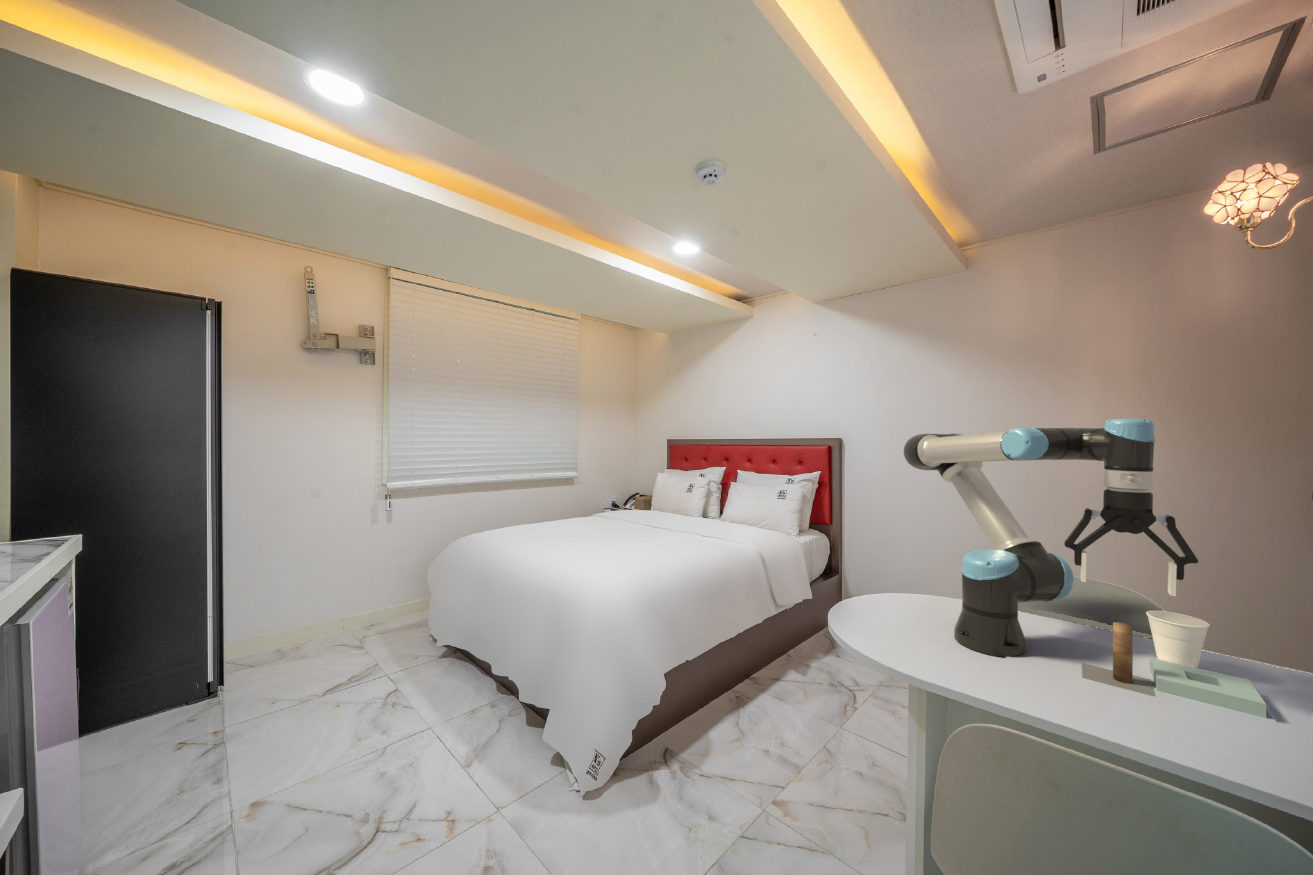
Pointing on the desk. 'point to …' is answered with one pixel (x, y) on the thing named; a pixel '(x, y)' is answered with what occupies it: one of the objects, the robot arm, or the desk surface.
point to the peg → (1123, 652)
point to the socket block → (1207, 687)
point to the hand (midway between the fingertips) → (1125, 587)
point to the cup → (1177, 637)
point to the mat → (1107, 678)
